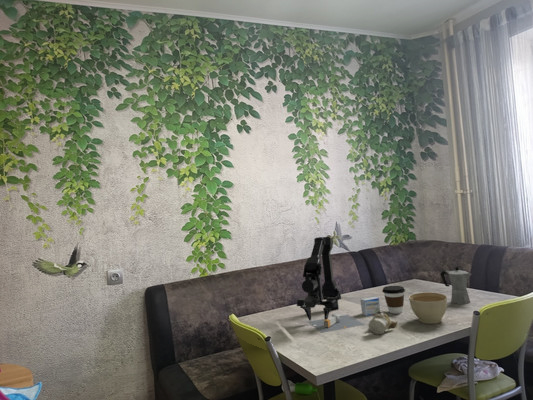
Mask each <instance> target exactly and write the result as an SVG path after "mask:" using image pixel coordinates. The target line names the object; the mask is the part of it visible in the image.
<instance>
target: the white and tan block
mask: <svg viewBox="0 0 533 400" xmlns="http://www.w3.org/2000/svg"><path fill="white" fill-rule="evenodd" d="M339 316H340V314H339V313H332V314H331V316H330V317H328V319H325V318H324V319H325V320H324V327H328V328H329V327H330V326H332V325H333V324H335V323H336V322H340V318H339Z"/></svg>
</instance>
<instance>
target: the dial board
mask: <svg viewBox="0 0 533 400" xmlns="http://www.w3.org/2000/svg"><path fill="white" fill-rule="evenodd" d="M339 318H340V322H336V323H335V324H333V325H332V326H330V327H329V328H328V327H324V320H325V318H323V319H322V318H321V319H317V320H310V321H308V324H310V325H311V326H312V327H314V328H315V329H316V330H317V331H319V332H320V333H321V334H325V333H330V332H333V331H340V330H344V329H349V328H354V327H359V326H365V323H364V322H362V321H359V320H358V319H356V318H355V317H353V316H350V315H349V314H344V315H339Z"/></svg>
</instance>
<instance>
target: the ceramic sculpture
mask: <svg viewBox="0 0 533 400" xmlns="http://www.w3.org/2000/svg"><path fill="white" fill-rule="evenodd" d="M397 325H398V321H397V320H396V321H393V320H390V317H389V316H388V315H387V314H386V313H383V312H382V311H380V312H378V313H376V314H374V316H373V317H372V319H371V320H370V321H369V323H368V328H369V329H368V330H370V331H371V333H372V334H375V335H383V334H384V333H385V331H387V330H388V329H393V328H395V327H396V326H397Z"/></svg>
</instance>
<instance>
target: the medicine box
mask: <svg viewBox="0 0 533 400" xmlns="http://www.w3.org/2000/svg"><path fill="white" fill-rule="evenodd" d="M360 308H361V314H362V315H363V316H366V317H368V316H372V315H375V314H376V313H378V312H381V307H380V299H379V297H377V296H371V297H366V298H365V297H364V298H360Z"/></svg>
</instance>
